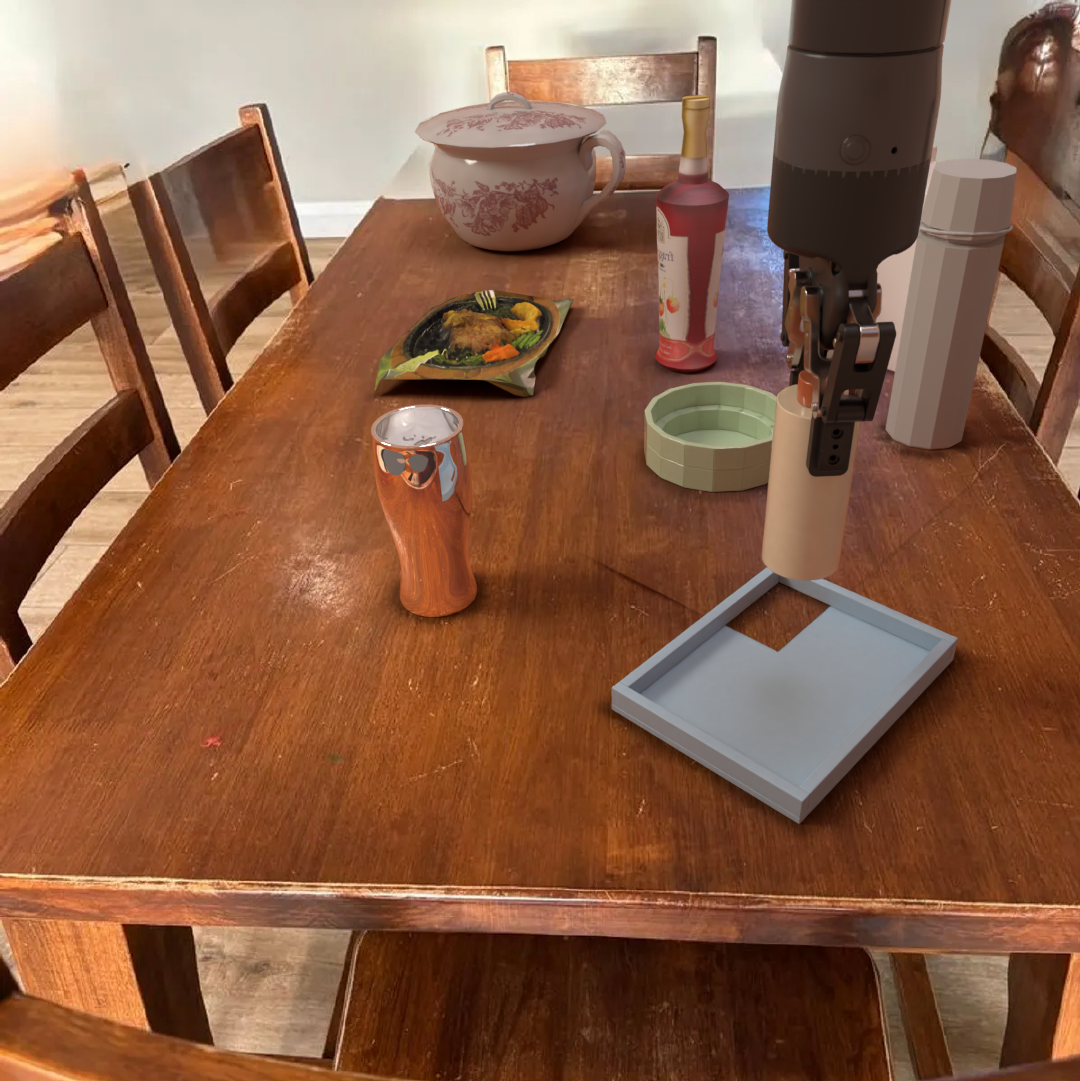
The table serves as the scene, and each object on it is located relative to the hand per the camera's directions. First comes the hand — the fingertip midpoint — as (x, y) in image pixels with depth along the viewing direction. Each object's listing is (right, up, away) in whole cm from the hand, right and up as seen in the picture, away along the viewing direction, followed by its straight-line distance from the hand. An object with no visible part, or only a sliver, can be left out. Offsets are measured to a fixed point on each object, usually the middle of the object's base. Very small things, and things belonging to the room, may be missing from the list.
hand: (814, 448), depth 59 cm
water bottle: (+21, +5, +39) cm, 44 cm away
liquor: (0, +14, +54) cm, 56 cm away
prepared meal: (-23, +17, +61) cm, 67 cm away
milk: (+23, +15, +53) cm, 60 cm away
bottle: (0, -7, +4) cm, 8 cm away
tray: (+1, -15, +10) cm, 18 cm away
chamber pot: (-19, +40, +95) cm, 105 cm away
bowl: (0, +2, +36) cm, 36 cm away
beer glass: (-24, -10, +21) cm, 33 cm away
